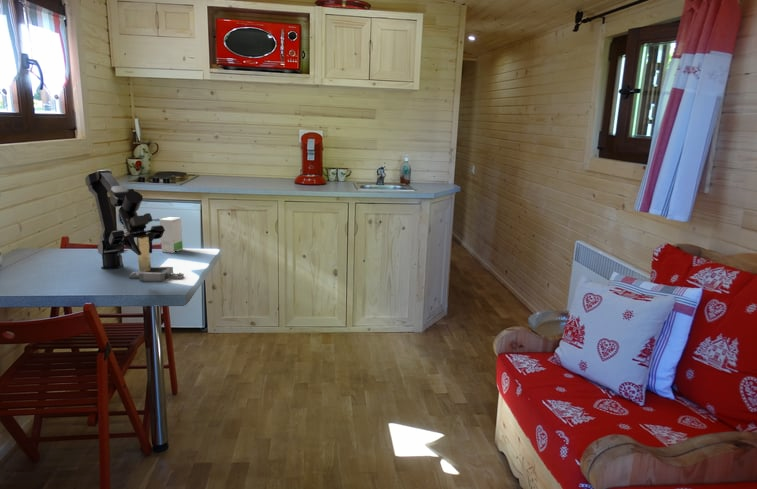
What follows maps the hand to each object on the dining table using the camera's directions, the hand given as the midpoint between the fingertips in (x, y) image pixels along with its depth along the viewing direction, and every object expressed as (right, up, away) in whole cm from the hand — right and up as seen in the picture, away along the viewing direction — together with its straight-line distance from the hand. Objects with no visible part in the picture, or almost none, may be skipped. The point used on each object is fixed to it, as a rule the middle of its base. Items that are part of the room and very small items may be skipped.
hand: (145, 253), depth 188 cm
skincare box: (-12, 0, +54) cm, 55 cm away
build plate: (-35, -1, +49) cm, 60 cm away
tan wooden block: (-1, -6, +2) cm, 7 cm away
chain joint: (-2, -10, +15) cm, 18 cm away
